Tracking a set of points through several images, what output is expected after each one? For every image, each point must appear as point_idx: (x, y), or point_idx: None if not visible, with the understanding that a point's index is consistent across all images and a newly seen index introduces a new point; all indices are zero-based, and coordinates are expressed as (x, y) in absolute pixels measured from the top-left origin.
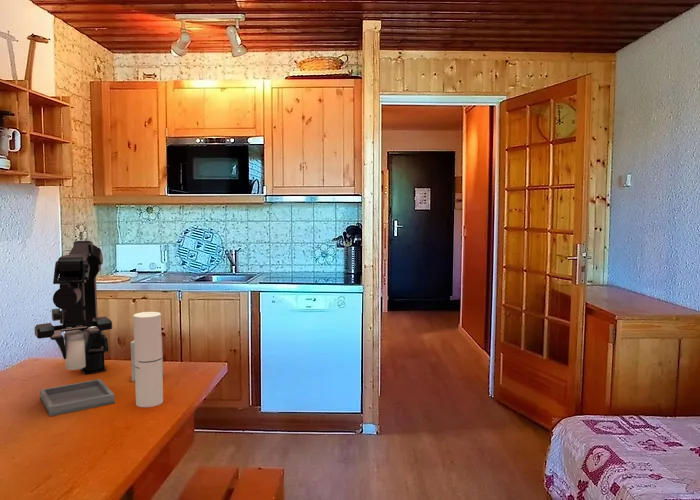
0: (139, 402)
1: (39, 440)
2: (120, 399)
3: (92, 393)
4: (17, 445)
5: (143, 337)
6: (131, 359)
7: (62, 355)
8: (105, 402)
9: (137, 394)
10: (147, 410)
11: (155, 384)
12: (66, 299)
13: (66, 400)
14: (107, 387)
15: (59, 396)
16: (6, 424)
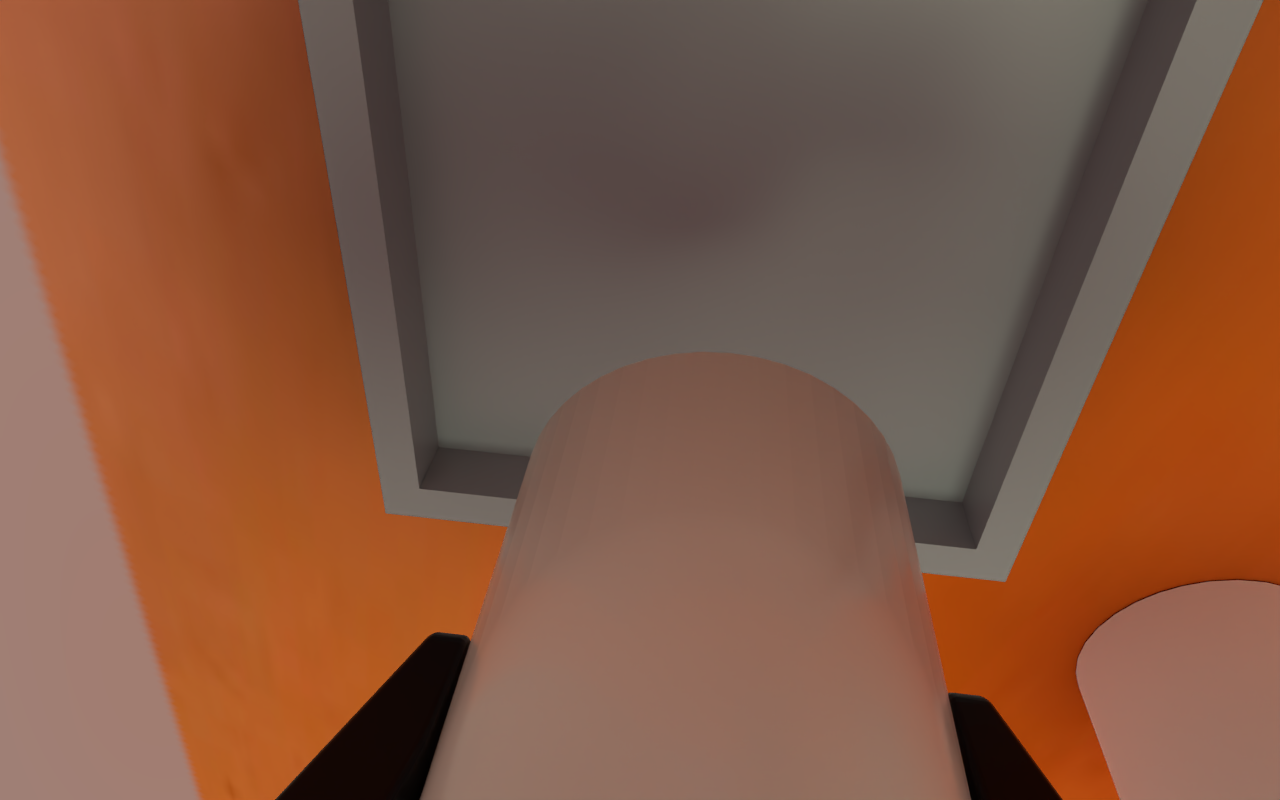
0: (1089, 711)
1: (340, 722)
2: (1086, 462)
3: (937, 198)
4: (228, 708)
5: None
6: None
7: (380, 705)
8: None
9: (1113, 760)
10: (1064, 750)
11: None
12: None
13: (598, 238)
14: (1100, 349)
15: (552, 24)
16: (81, 394)
